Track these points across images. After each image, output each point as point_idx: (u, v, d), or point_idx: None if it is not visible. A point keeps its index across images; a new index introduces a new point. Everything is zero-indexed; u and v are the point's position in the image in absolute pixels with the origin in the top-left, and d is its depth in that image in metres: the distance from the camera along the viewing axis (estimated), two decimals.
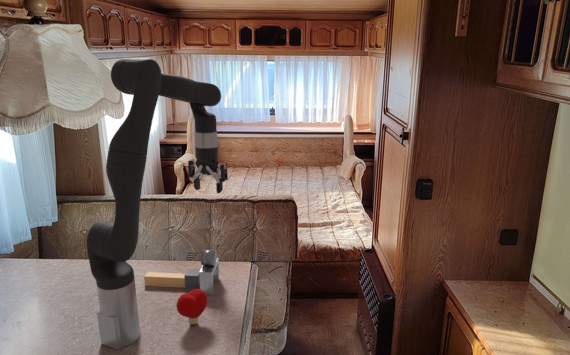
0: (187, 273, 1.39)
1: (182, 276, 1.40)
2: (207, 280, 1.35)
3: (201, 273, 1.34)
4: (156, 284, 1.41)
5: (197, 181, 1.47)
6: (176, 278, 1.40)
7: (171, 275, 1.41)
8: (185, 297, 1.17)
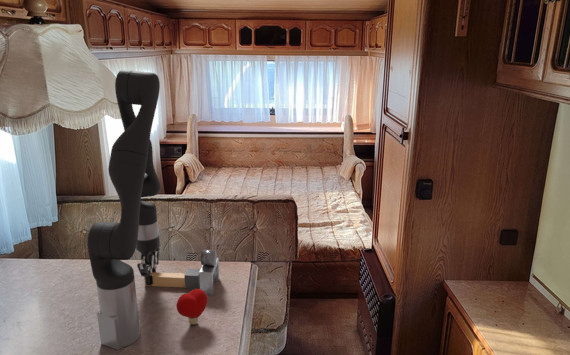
0: (187, 273, 1.39)
1: (182, 276, 1.40)
2: (207, 280, 1.35)
3: (201, 273, 1.34)
4: (156, 284, 1.41)
5: None
6: (176, 278, 1.40)
7: (171, 275, 1.41)
8: (185, 297, 1.17)
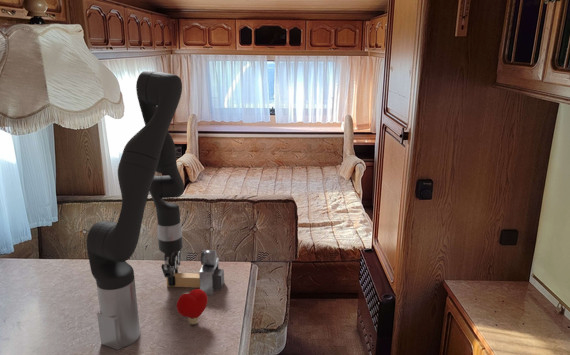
0: None
1: None
2: (207, 280, 1.35)
3: (201, 273, 1.34)
4: (178, 284, 1.40)
5: None
6: (199, 278, 1.39)
7: (193, 275, 1.41)
8: (185, 297, 1.17)
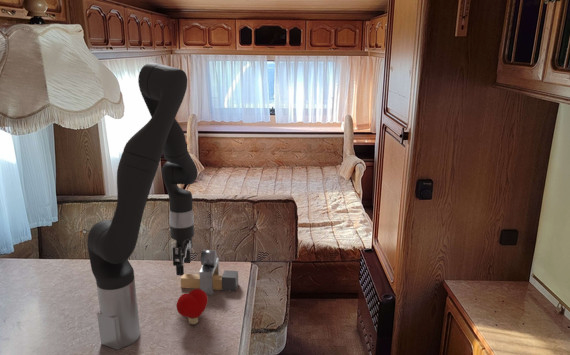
0: (224, 275, 1.38)
1: (219, 278, 1.39)
2: (207, 280, 1.35)
3: (201, 273, 1.34)
4: (192, 286, 1.40)
5: None
6: (213, 280, 1.39)
7: None
8: (185, 297, 1.17)
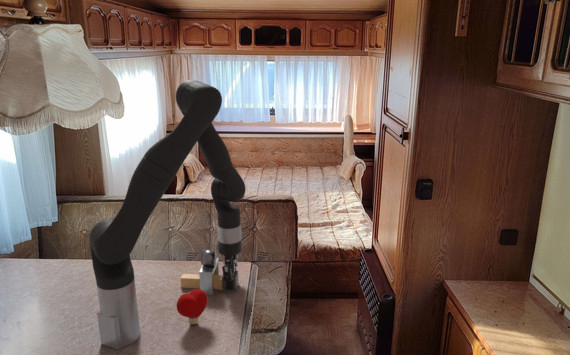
0: None
1: (219, 278, 1.39)
2: (207, 280, 1.35)
3: (201, 273, 1.34)
4: (192, 286, 1.40)
5: None
6: (213, 280, 1.39)
7: None
8: (185, 297, 1.17)
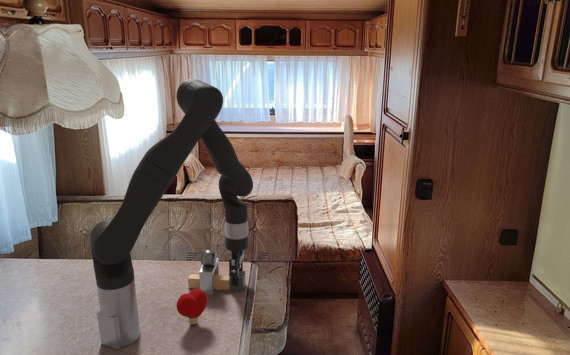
0: None
1: (226, 278, 1.39)
2: (207, 280, 1.35)
3: (201, 273, 1.34)
4: None
5: None
6: (220, 280, 1.39)
7: (214, 277, 1.40)
8: (185, 297, 1.17)
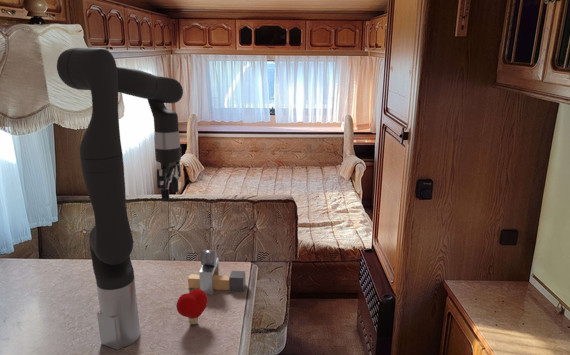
0: (231, 275, 1.38)
1: (226, 278, 1.39)
2: (207, 280, 1.35)
3: (201, 273, 1.34)
4: None
5: None
6: (220, 280, 1.39)
7: (214, 277, 1.40)
8: (185, 297, 1.17)
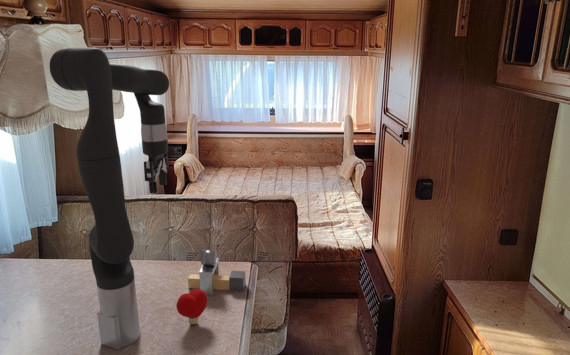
0: (231, 275, 1.38)
1: (226, 278, 1.39)
2: (207, 280, 1.35)
3: (201, 273, 1.34)
4: None
5: None
6: (220, 280, 1.39)
7: (214, 277, 1.40)
8: (185, 297, 1.17)
